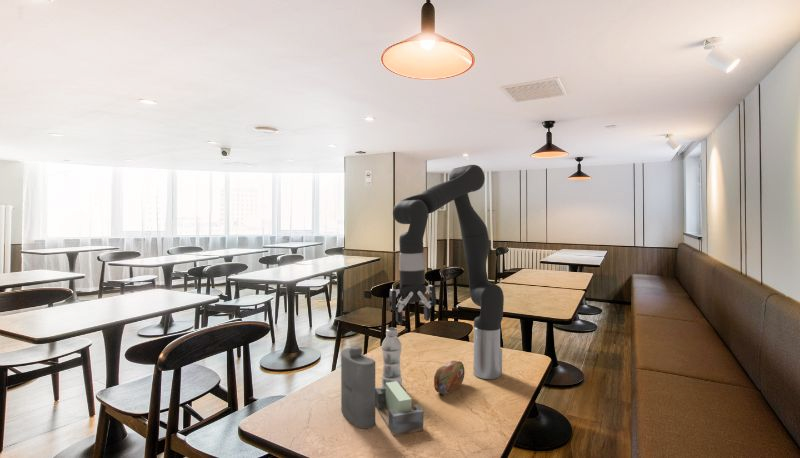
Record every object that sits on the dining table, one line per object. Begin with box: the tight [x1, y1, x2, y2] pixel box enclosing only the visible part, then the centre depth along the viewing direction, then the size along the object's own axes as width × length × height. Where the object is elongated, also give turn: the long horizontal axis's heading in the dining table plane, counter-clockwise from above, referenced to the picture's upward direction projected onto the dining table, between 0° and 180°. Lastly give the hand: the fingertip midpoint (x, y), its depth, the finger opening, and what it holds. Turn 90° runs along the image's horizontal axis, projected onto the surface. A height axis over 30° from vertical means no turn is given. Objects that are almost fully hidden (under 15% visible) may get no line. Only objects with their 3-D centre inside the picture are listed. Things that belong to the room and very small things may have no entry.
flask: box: [340, 345, 376, 430], centre depth 109 cm, size 15×6×20 cm, turn 34°
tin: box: [433, 360, 465, 396], centre depth 127 cm, size 15×3×8 cm, turn 139°
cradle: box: [375, 384, 424, 437], centre depth 109 cm, size 8×17×5 cm, turn 20°
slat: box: [386, 381, 412, 414], centre depth 109 cm, size 4×12×7 cm, turn 20°
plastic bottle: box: [381, 327, 403, 387], centre depth 126 cm, size 6×7×20 cm
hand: (413, 322), depth 114 cm, fingers open, 8 cm apart
